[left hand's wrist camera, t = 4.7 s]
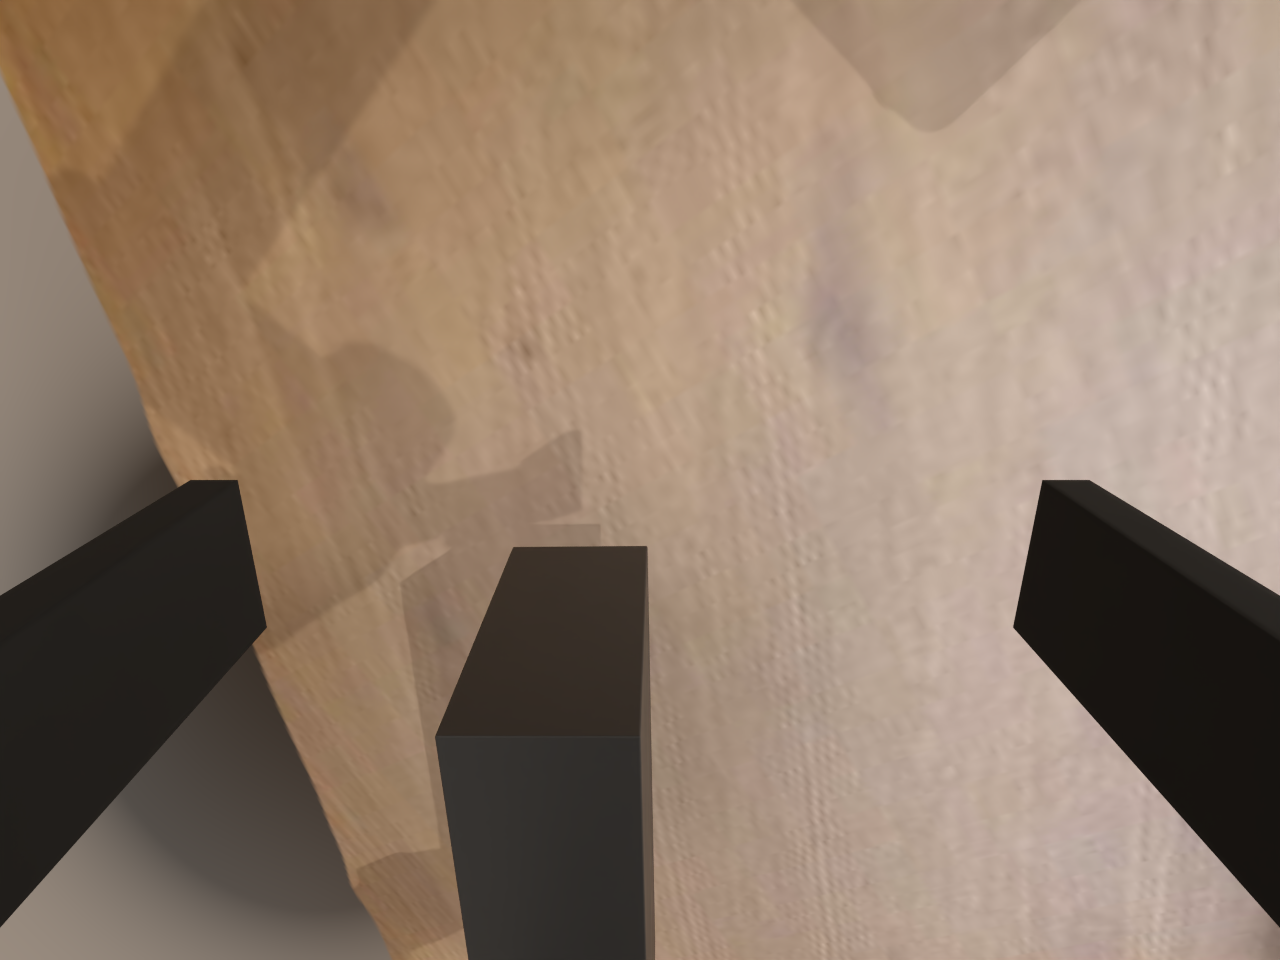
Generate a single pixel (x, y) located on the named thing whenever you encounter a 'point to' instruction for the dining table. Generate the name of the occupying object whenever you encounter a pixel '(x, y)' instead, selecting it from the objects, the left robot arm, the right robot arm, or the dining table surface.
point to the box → (555, 762)
